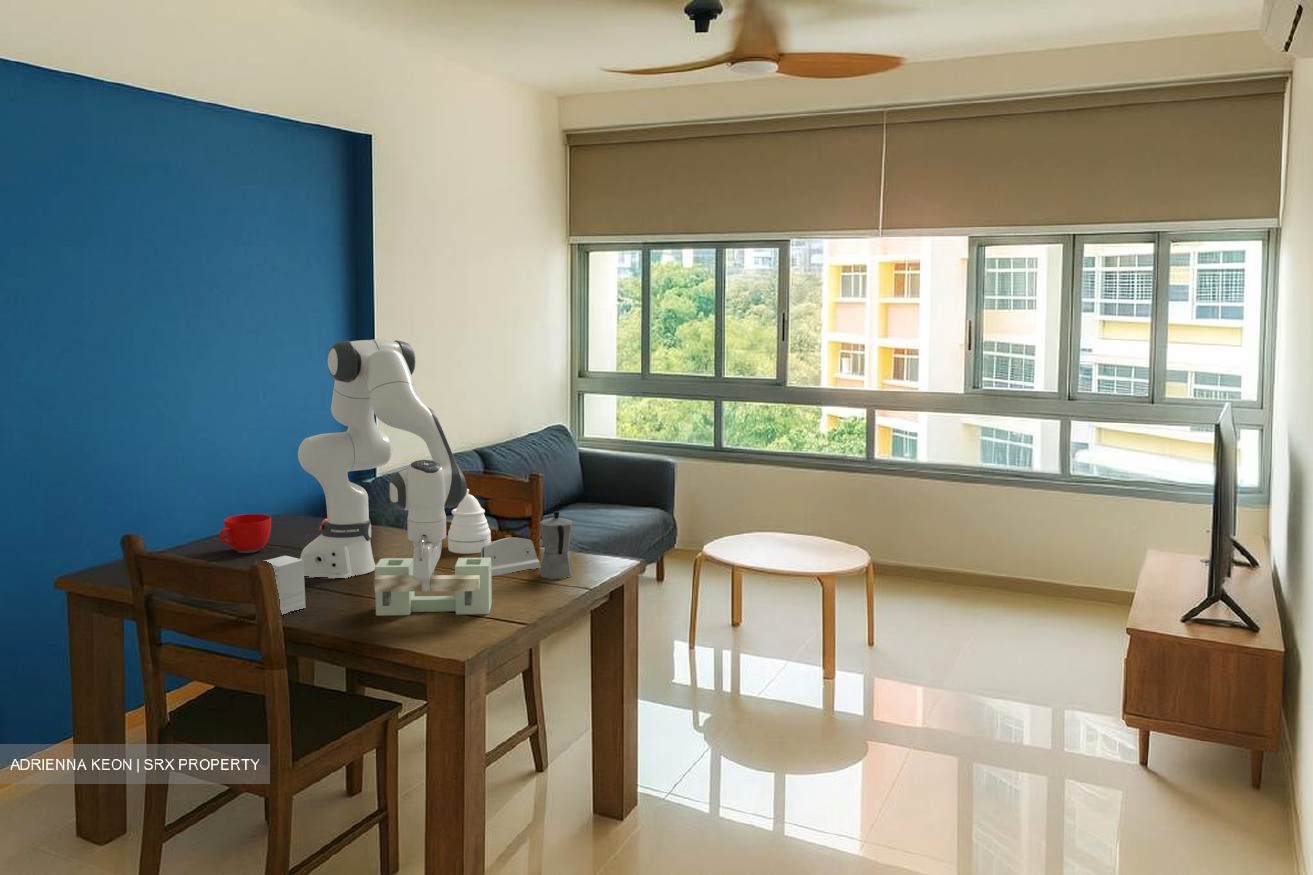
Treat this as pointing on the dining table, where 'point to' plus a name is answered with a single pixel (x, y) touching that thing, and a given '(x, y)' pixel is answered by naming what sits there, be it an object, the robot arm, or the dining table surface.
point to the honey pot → (468, 527)
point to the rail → (437, 583)
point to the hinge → (510, 555)
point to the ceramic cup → (247, 531)
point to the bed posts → (410, 603)
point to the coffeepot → (556, 547)
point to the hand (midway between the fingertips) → (427, 587)
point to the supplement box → (289, 582)
